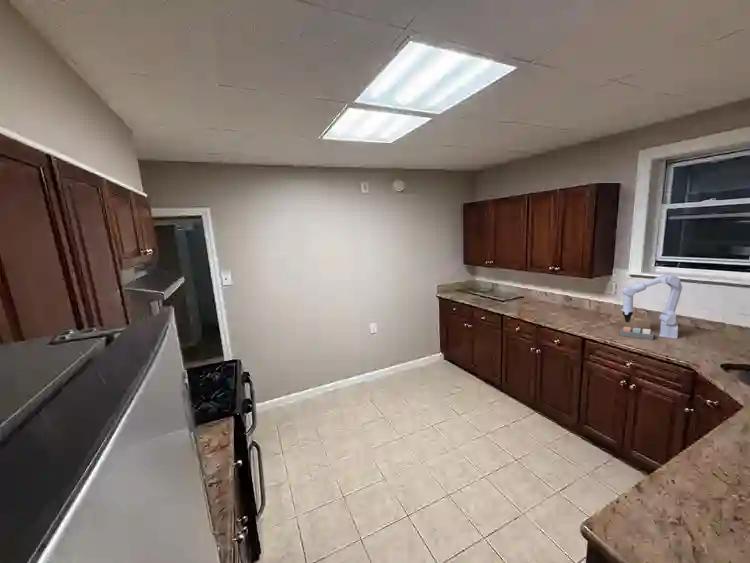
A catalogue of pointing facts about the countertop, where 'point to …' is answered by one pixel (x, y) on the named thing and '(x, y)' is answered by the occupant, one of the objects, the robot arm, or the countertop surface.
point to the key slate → (637, 330)
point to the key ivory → (646, 331)
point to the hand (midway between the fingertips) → (627, 322)
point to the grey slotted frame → (637, 334)
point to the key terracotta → (627, 329)
